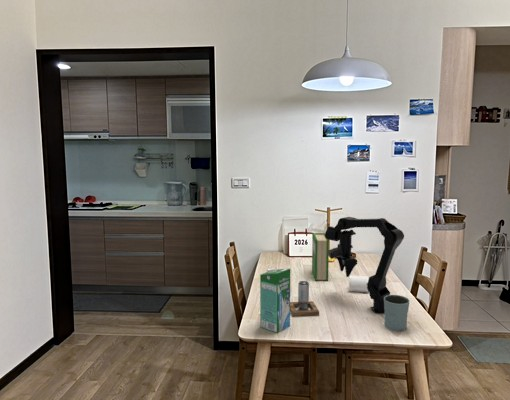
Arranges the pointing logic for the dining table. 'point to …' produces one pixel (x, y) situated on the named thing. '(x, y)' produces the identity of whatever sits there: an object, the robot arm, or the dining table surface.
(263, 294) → the milk carton
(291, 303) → the holder
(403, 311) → the grey-green cup
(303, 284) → the grey brushed cylinder
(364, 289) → the mug
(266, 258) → the dining table surface
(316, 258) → the hardback book
